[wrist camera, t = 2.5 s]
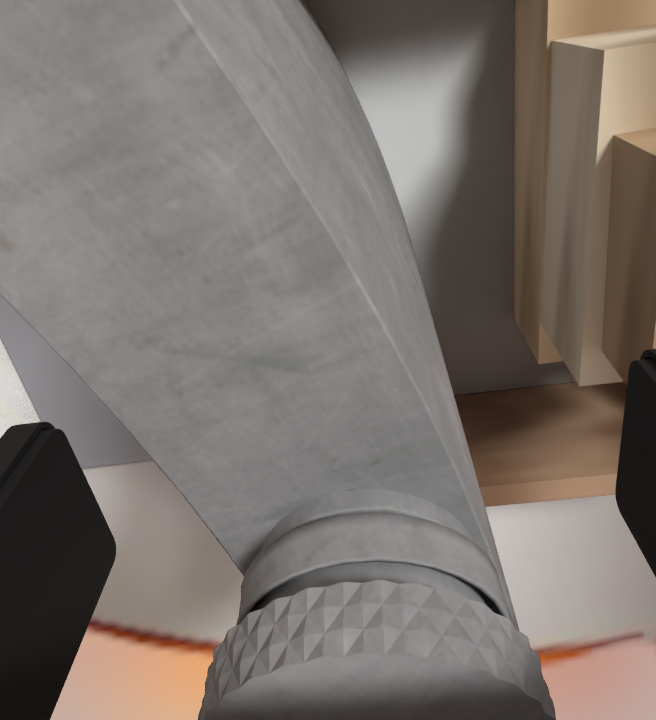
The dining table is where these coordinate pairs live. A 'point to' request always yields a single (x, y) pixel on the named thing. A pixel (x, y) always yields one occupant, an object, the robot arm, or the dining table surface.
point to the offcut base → (532, 91)
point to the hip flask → (260, 345)
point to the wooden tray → (544, 441)
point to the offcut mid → (588, 182)
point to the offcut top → (631, 251)
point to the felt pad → (66, 397)
